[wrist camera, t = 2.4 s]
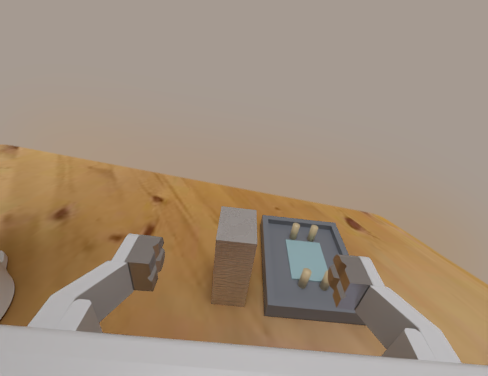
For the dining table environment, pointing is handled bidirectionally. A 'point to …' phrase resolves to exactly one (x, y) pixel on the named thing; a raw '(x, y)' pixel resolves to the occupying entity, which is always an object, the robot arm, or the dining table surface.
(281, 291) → the pin tray
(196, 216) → the dining table surface
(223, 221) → the block
